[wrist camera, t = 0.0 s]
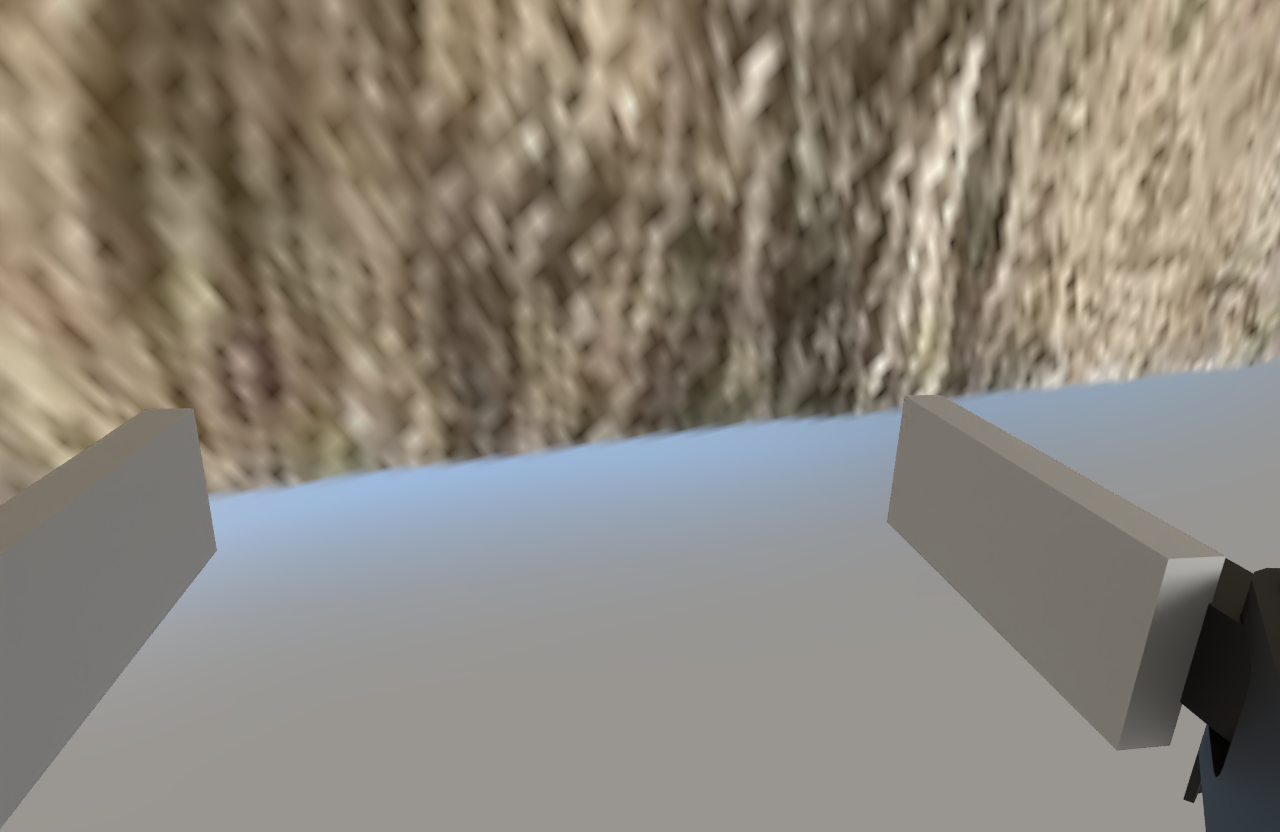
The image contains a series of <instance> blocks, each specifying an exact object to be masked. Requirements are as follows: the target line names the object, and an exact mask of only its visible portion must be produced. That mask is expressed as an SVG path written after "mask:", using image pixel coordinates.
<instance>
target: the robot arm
mask: <svg viewBox="0 0 1280 832" xmlns="http://www.w3.org/2000/svg"><path fill="white" fill-rule="evenodd" d="M887 522H888V523H889V524H890V525H891V526H892V527H893V528H894V529H895V530H896V531H897V532H898V533H899V534H900V535H901V536H902V537H903V538H904V539H905V540H906V541H907V542H908V543H909V544H910V545H911V546H912V547H913V548H914V549H915V550H916V551H917V552H918V553H919V554H920V555H921V556H922V557H923V558H924V559H925V560H926V561H927V562H928V563H929V564H930V565H931V566H932V567H933V568H934V569H935V570H936V571H937V572H938V573H939V574H940V575H941V576H942V577H943V578H944V579H945V580H946V581H947V582H948V583H949V584H950V585H951V586H952V587H953V588H954V589H955V590H956V591H957V592H958V593H959V594H960V595H961V596H962V597H963V598H964V599H965V600H966V601H967V602H968V603H969V604H970V605H971V606H972V607H973V608H974V609H975V610H976V611H977V612H978V613H979V614H980V615H981V616H982V617H983V618H984V619H985V620H986V621H987V622H988V623H989V624H990V625H991V626H992V627H993V628H994V629H995V630H996V631H997V632H998V633H999V634H1000V635H1001V636H1002V637H1003V638H1004V639H1005V640H1006V641H1007V642H1008V643H1009V644H1010V645H1011V646H1012V647H1014V649H1015V650H1016V651H1018V653H1019V654H1020V655H1021V656H1022V657H1024V658H1025V659H1026V660H1027V662H1029V664H1031V665H1032V666H1033V667H1034V668H1035V669H1036V670H1037V671H1038V672H1039V673H1040V674H1041V675H1042V676H1043V677H1044V678H1045V679H1046V680H1047V681H1048V682H1049V683H1050V684H1051V685H1052V686H1053V687H1054V688H1055V689H1056V690H1057V691H1058V692H1059V693H1060V694H1061V695H1062V696H1063V697H1064V698H1065V699H1066V700H1067V701H1068V702H1069V703H1070V704H1071V705H1072V706H1073V707H1074V708H1075V709H1076V710H1077V711H1078V712H1079V713H1080V714H1081V715H1082V716H1083V717H1084V718H1085V719H1086V720H1087V721H1088V722H1089V723H1090V724H1091V725H1092V726H1093V727H1094V728H1095V729H1096V730H1097V731H1098V732H1099V733H1100V734H1101V735H1102V736H1103V737H1104V738H1105V739H1106V740H1107V741H1108V742H1109V743H1110V744H1111V745H1112V746H1113V747H1114V748H1115V749H1116V750H1126V749H1136V748H1147V747H1158V746H1169V745H1170V743H1171V740H1172V736H1173V733H1174V729H1175V726H1176V723H1177V720H1178V716H1179V713H1180V710H1181V706H1182V704H1183V705H1184V706H1186V707H1187V708H1188V709H1189V710H1190V711H1192V712H1193V713H1194V714H1195V715H1196V716H1198V717H1199V718H1200V719H1201V720H1203V721H1204V722H1205V723H1206V724H1207V725H1206V728H1205V732H1204V735H1203V738H1202V741H1201V744H1200V747H1199V751H1198V754H1197V757H1196V760H1195V764H1194V767H1193V770H1192V773H1191V776H1190V780H1189V783H1188V786H1187V790H1186V793H1185V796H1184V800H1186V801H1189V802H1192V803H1194V801H1195V799H1196V797H1197V795H1198V793H1202V795H1203V805H1204V816H1205V826H1206V832H1280V568H1265V569H1262V570H1259V571H1256V572H1254V574H1253V573H1251V572H1249V571H1248V570H1246V569H1244V568H1242V567H1241V566H1239V565H1237V564H1235V563H1234V562H1232V561H1230V560H1228V559H1227V558H1225V557H1226V556H1225V555H1223V554H1221V553H1220V552H1218V551H1216V550H1214V549H1212V548H1210V547H1209V546H1207V545H1206V544H1204V543H1202V542H1200V541H1198V540H1197V539H1195V538H1193V537H1191V536H1190V535H1188V534H1186V533H1184V532H1182V531H1181V530H1179V529H1177V528H1175V527H1174V526H1172V525H1170V524H1168V523H1166V522H1165V521H1163V520H1161V519H1159V518H1158V517H1156V516H1154V515H1152V514H1151V513H1149V512H1147V511H1145V510H1143V509H1141V508H1140V507H1138V506H1136V505H1135V504H1133V503H1131V502H1129V501H1127V500H1126V499H1124V498H1122V497H1120V496H1119V495H1117V494H1115V493H1113V492H1111V491H1110V490H1108V489H1106V488H1104V487H1103V486H1101V485H1099V484H1097V483H1096V482H1094V481H1092V480H1090V479H1089V478H1087V477H1085V476H1083V475H1081V474H1080V473H1078V472H1076V471H1074V470H1073V469H1071V468H1069V467H1067V466H1065V465H1064V464H1062V463H1060V462H1058V461H1057V460H1055V459H1053V458H1051V457H1050V456H1048V455H1046V454H1044V453H1042V452H1041V451H1039V450H1037V449H1035V448H1033V447H1032V446H1030V445H1028V444H1026V443H1025V442H1023V441H1021V440H1019V439H1018V438H1016V437H1014V436H1012V435H1011V434H1009V433H1007V432H1005V431H1003V430H1002V429H1000V428H998V427H996V426H995V425H993V424H991V423H989V422H987V421H986V420H984V419H982V418H980V417H979V416H977V415H975V414H973V413H972V412H970V411H968V410H966V409H964V408H963V407H961V406H959V405H957V404H956V403H954V402H952V401H950V400H948V399H947V398H945V397H943V396H941V395H919V396H905V397H904V404H903V411H902V419H901V426H900V433H899V440H898V447H897V454H896V462H895V469H894V476H893V483H892V491H891V497H890V505H889V512H888V519H887ZM216 551H217V549H216V543H215V537H214V531H213V525H212V519H211V512H210V506H209V500H208V494H207V488H206V481H205V475H204V469H203V463H202V457H201V451H200V444H199V438H198V432H197V426H196V420H195V414H194V408H179V409H145V410H144V411H142V412H141V413H139V414H138V415H136V416H135V417H133V418H132V419H130V420H129V421H127V422H126V423H124V424H123V425H121V426H120V427H118V428H117V429H115V430H114V431H112V432H111V433H109V434H108V435H106V436H105V437H103V438H102V439H100V440H99V441H97V442H96V443H94V444H93V445H91V446H90V447H88V448H87V449H85V450H84V451H82V452H81V453H79V454H78V455H76V456H75V457H73V458H72V459H70V460H69V461H67V462H66V463H64V464H63V465H61V466H60V467H58V468H57V469H55V470H54V471H52V472H51V473H49V474H48V475H46V476H45V477H43V478H42V479H40V480H39V481H37V482H36V483H34V484H33V485H31V486H30V487H28V488H27V489H25V490H24V491H22V492H21V493H19V494H18V495H16V496H15V497H13V498H12V499H10V500H9V501H7V502H6V503H4V504H3V505H1V506H0V828H1V827H2V826H3V824H4V823H5V822H6V821H7V819H8V818H9V817H10V815H11V814H12V813H13V811H14V810H15V809H16V808H17V807H18V805H19V804H20V803H21V801H22V800H23V799H24V798H25V796H26V795H27V794H28V792H29V791H30V790H31V789H32V787H33V786H34V785H35V783H36V782H37V781H38V780H39V778H40V777H41V776H42V774H43V773H44V772H45V771H46V769H47V768H48V767H49V765H50V764H51V763H52V761H53V760H54V759H55V758H56V756H57V755H58V754H59V753H60V751H61V750H62V749H63V747H64V746H65V745H66V744H67V742H68V741H69V740H70V738H71V737H72V736H73V735H74V733H75V732H76V731H77V729H78V728H79V727H80V726H81V724H82V723H83V722H84V720H85V719H86V718H87V717H88V715H89V714H90V713H91V711H92V710H93V709H94V708H95V706H96V705H97V704H98V702H99V701H100V700H101V699H102V697H103V696H104V695H105V693H106V692H107V691H108V690H109V688H110V687H111V686H112V684H113V683H114V682H115V681H116V679H117V678H118V677H119V675H120V674H121V673H122V671H123V670H124V669H125V668H126V666H127V665H128V664H129V663H130V661H131V660H132V659H133V657H134V656H135V655H136V654H137V652H138V651H139V650H140V648H141V647H142V646H143V645H144V643H145V642H146V640H147V639H148V638H149V637H150V636H151V634H152V633H153V632H154V630H155V629H156V628H157V627H158V625H159V624H160V623H161V621H162V620H163V619H164V618H165V616H166V615H167V614H168V612H169V611H170V610H171V608H172V607H173V606H174V605H175V603H176V602H177V601H178V599H179V598H180V597H181V596H182V595H183V593H184V592H185V591H186V589H187V588H188V587H189V585H190V584H191V583H192V582H193V580H194V579H195V578H196V577H197V575H198V574H199V573H200V571H201V570H202V569H203V568H204V566H205V565H206V563H207V562H208V561H209V560H210V559H211V557H212V556H213V555H214V553H215V552H216Z"/></svg>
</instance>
